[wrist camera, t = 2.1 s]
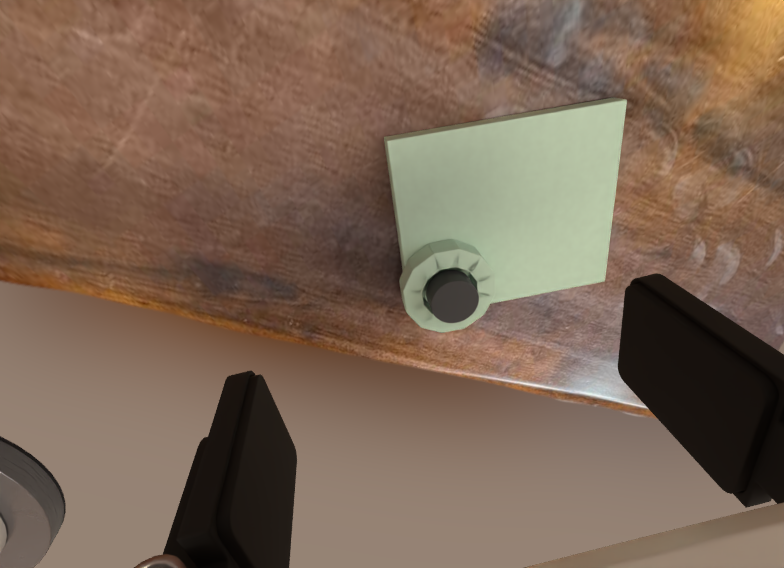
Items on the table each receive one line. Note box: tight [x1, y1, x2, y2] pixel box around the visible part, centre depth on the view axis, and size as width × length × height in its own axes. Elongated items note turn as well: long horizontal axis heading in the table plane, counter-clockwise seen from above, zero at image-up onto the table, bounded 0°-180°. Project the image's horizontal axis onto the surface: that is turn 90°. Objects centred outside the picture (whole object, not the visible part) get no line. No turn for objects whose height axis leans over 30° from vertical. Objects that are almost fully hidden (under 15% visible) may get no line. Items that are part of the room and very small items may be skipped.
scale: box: [384, 98, 627, 333], centre depth 27 cm, size 14×12×3 cm
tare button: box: [426, 270, 479, 323], centre depth 26 cm, size 3×3×2 cm
